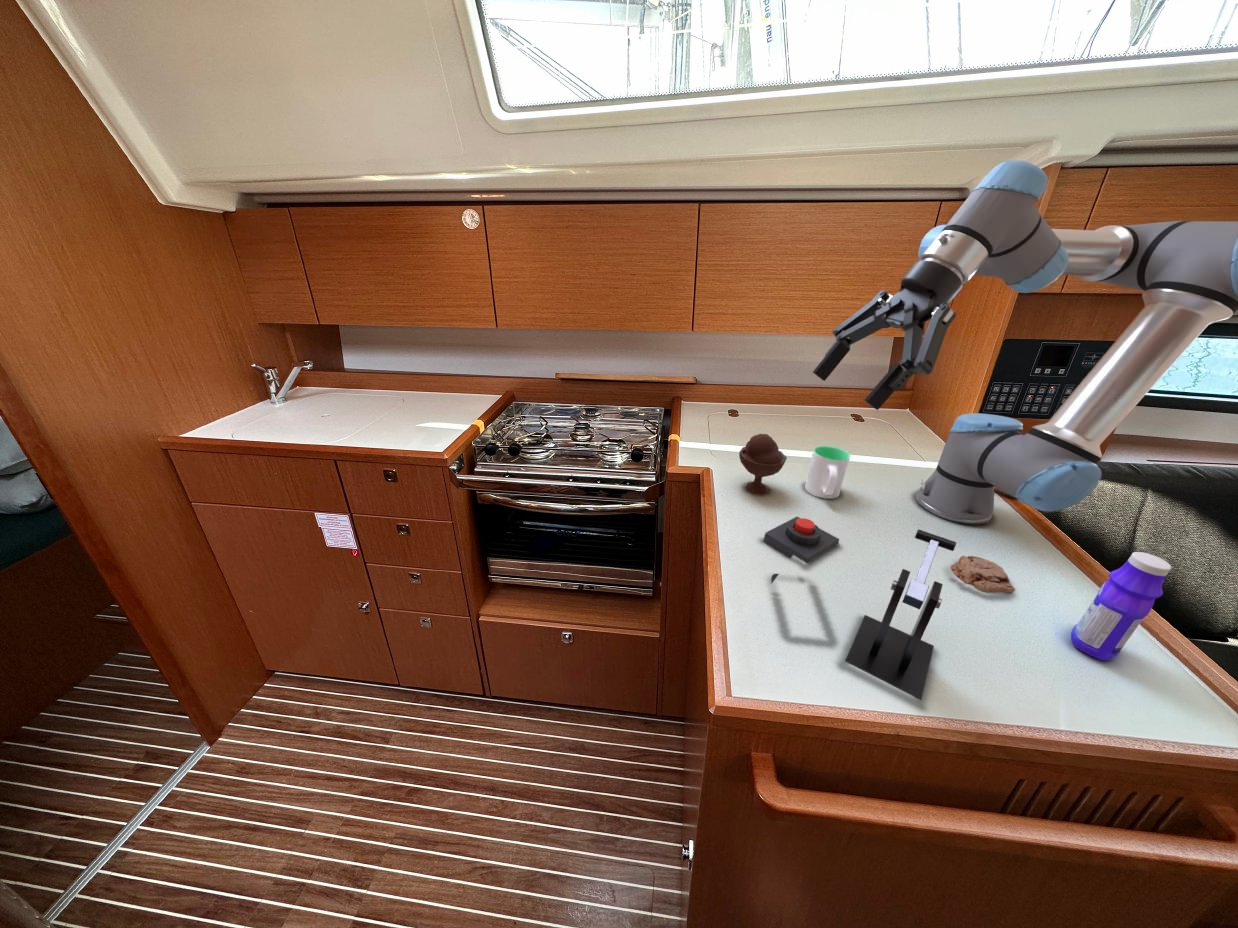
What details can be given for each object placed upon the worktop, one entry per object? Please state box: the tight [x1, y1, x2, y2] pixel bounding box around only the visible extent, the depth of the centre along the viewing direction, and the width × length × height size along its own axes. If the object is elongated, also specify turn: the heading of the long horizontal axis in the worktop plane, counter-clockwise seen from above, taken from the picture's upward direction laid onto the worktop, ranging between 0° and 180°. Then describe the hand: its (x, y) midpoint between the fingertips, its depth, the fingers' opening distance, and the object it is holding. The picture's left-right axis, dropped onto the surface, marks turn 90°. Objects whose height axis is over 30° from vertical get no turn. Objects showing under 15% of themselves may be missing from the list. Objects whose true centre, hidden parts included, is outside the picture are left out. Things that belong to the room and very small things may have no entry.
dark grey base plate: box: [763, 516, 840, 563], centre depth 96 cm, size 11×10×4 cm
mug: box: [804, 445, 851, 500], centre depth 113 cm, size 12×8×10 cm
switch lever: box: [902, 529, 957, 610], centre depth 68 cm, size 12×5×2 cm, turn 142°
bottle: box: [1070, 551, 1172, 661], centre depth 71 cm, size 7×6×17 cm
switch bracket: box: [844, 568, 943, 701], centre depth 68 cm, size 12×10×15 cm
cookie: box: [950, 555, 1016, 594], centre depth 88 cm, size 10×11×3 cm
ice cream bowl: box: [738, 433, 788, 495], centre depth 113 cm, size 11×11×15 cm
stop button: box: [794, 517, 816, 535], centre depth 95 cm, size 4×4×2 cm
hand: (842, 390), depth 76 cm, fingers open, 13 cm apart
